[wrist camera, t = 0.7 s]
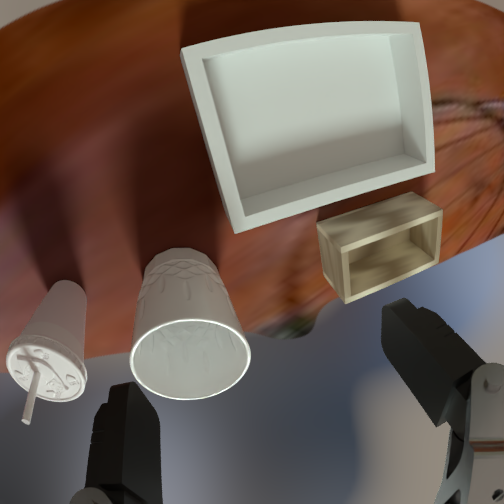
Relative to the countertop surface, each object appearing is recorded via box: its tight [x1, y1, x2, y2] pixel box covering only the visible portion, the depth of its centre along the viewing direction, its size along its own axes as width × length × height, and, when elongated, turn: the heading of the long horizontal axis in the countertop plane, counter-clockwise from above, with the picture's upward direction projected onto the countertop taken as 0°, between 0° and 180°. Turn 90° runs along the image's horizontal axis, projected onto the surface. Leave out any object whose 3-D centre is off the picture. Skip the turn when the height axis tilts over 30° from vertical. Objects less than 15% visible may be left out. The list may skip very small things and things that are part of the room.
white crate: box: [180, 21, 435, 234], centre depth 22 cm, size 18×13×4 cm
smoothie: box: [6, 280, 87, 424], centre depth 20 cm, size 6×6×14 cm
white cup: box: [130, 248, 251, 400], centre depth 24 cm, size 8×8×10 cm
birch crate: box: [316, 191, 443, 304], centre depth 29 cm, size 11×6×5 cm, turn 103°
